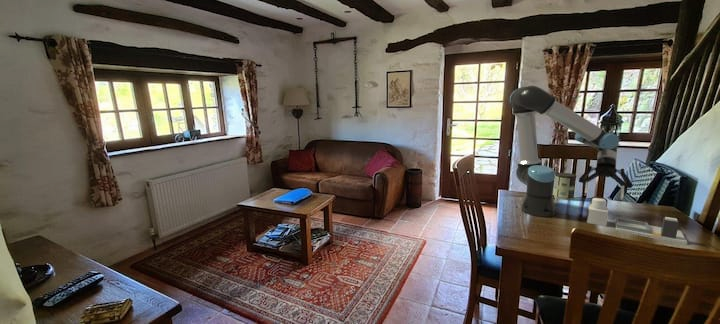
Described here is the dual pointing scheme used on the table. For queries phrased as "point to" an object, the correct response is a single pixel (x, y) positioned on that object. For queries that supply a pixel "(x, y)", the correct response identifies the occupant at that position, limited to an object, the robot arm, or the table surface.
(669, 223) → the breaker toggle
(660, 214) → the table surface
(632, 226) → the breaker panel
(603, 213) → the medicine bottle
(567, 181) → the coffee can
